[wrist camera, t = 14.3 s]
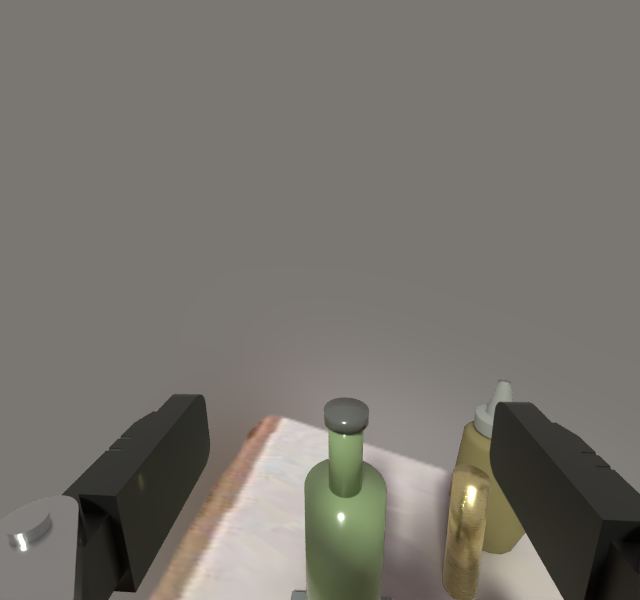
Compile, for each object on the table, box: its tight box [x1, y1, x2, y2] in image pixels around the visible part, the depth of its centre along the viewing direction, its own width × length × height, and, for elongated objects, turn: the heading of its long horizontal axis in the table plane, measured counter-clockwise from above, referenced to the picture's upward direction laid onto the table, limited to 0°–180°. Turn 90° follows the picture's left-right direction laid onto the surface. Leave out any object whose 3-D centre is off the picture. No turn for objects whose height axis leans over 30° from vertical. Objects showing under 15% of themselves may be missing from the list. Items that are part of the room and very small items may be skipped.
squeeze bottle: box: [449, 380, 525, 554], centre depth 35 cm, size 8×8×18 cm
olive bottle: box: [305, 398, 387, 600], centre depth 23 cm, size 5×5×22 cm
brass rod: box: [442, 465, 491, 600], centre depth 30 cm, size 3×3×12 cm
